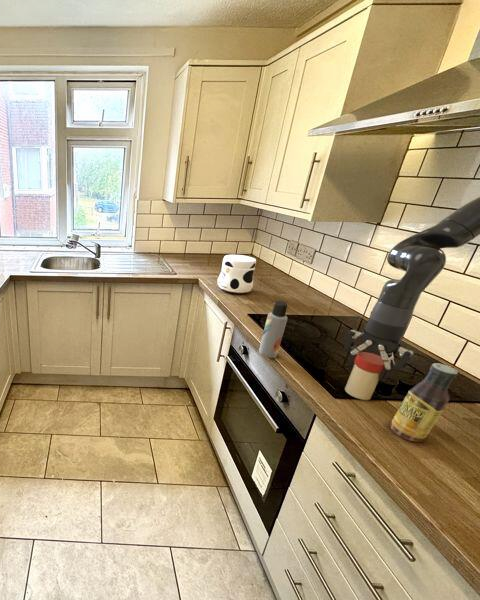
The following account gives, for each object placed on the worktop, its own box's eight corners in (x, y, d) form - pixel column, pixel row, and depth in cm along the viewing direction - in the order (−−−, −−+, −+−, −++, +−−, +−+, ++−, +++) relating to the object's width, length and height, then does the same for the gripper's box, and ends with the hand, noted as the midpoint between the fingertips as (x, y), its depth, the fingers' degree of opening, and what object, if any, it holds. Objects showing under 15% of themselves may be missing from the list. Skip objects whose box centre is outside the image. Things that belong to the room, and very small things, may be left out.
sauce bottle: (382, 424, 81) (414, 358, 73) (407, 424, 81) (441, 358, 73) (405, 444, 75) (443, 375, 67) (432, 445, 74) (473, 375, 67)
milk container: (209, 286, 176) (214, 255, 169) (234, 283, 181) (240, 253, 174) (232, 297, 161) (239, 263, 154) (258, 294, 166) (266, 261, 159)
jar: (359, 386, 95) (372, 354, 91) (376, 400, 89) (391, 366, 85) (339, 386, 95) (351, 354, 90) (356, 400, 89) (370, 366, 85)
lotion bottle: (279, 355, 111) (294, 302, 103) (271, 360, 108) (286, 306, 100) (263, 348, 115) (276, 297, 107) (255, 352, 112) (268, 301, 105)
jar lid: (348, 363, 90) (351, 355, 89) (360, 357, 93) (363, 349, 92) (377, 375, 84) (381, 367, 83) (389, 369, 87) (393, 361, 86)
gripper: (432, 327, 79) (405, 382, 85) (363, 306, 90) (344, 356, 97) (419, 334, 75) (391, 390, 82) (349, 311, 87) (330, 362, 94)
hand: (366, 371), depth 89 cm, fingers closed on jar lid, 6 cm apart
